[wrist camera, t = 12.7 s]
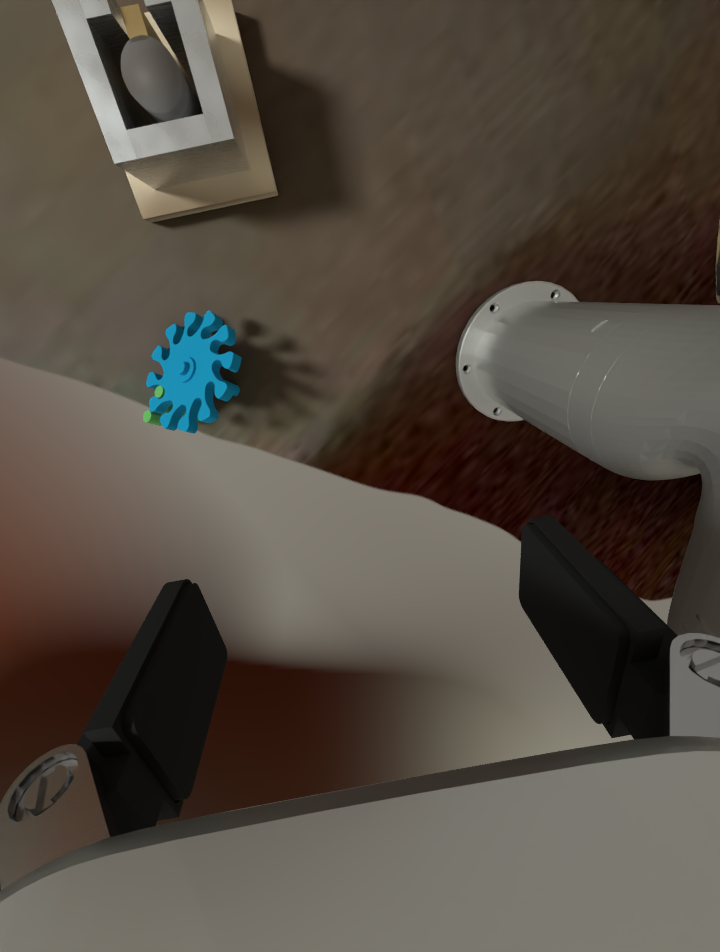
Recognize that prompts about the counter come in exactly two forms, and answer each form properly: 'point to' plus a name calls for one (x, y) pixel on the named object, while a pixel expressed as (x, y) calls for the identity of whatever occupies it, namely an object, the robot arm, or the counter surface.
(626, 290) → the counter surface
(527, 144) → the counter surface
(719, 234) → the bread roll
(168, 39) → the grey hollow block
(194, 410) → the gear
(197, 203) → the keyed post stand
